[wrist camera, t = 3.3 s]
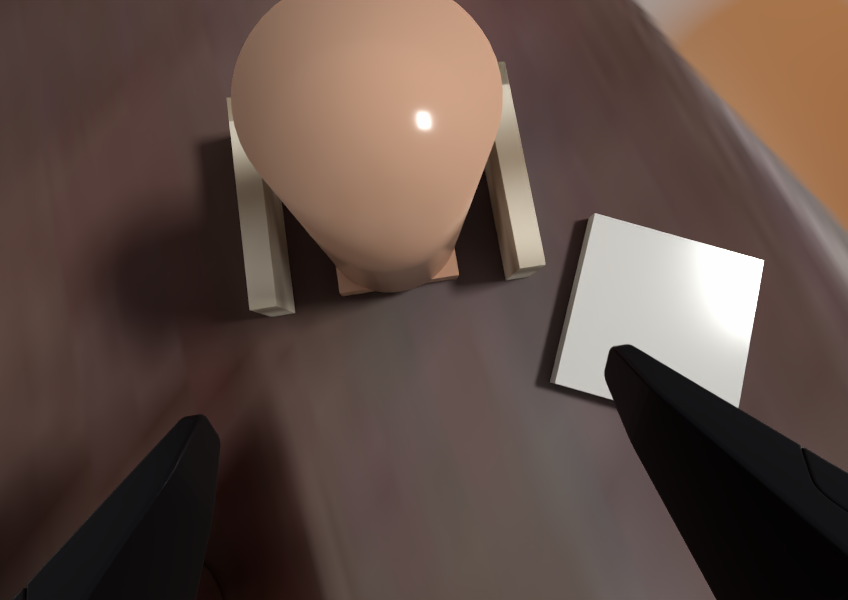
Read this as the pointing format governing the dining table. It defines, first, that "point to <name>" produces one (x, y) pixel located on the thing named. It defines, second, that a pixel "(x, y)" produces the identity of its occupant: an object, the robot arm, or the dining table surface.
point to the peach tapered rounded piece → (371, 129)
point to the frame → (269, 237)
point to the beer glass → (208, 587)
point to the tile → (658, 308)
